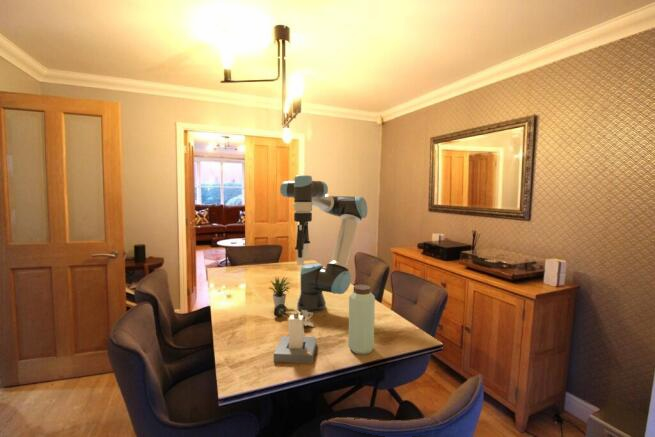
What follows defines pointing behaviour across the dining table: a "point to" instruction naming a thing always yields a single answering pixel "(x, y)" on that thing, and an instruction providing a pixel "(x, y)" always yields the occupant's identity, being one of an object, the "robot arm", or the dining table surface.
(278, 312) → the artificial flower
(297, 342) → the cream long rectangular block
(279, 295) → the house plant
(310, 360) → the socket
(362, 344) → the water bottle
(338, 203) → the robot arm
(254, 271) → the dining table surface
